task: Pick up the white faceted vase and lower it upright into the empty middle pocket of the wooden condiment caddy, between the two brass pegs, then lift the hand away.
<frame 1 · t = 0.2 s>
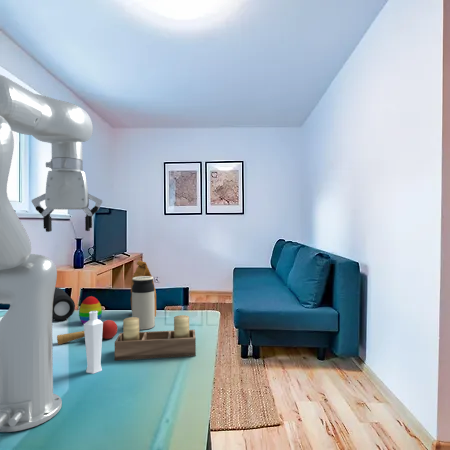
hand: (68, 231, 91), 36 cm above the table, tool pointing down, fingers open, 9 cm apart
decorative egg: (90, 323, 130), on the table
travel mug: (143, 327, 124), on the table
coffee package: (143, 315, 141), on the table
wooden condiment caddy: (157, 352, 99), on the table
white faceted vase: (94, 371, 87), on the table
kendama: (88, 341, 110), on the table
portable speaker: (57, 315, 142), on the table
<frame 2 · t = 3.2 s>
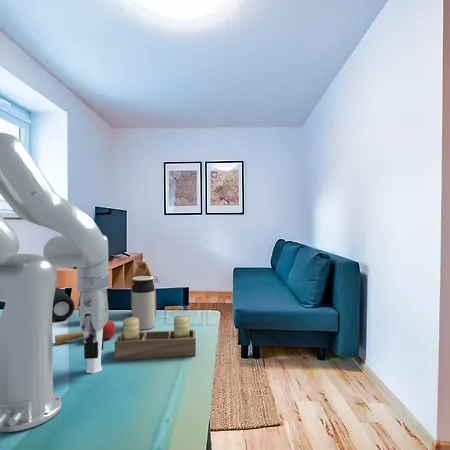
hand: (94, 353, 87), 4 cm above the table, tool pointing down, fingers closed on white faceted vase, 4 cm apart
white faceted vase: (94, 371, 87), on the table, touching gripper
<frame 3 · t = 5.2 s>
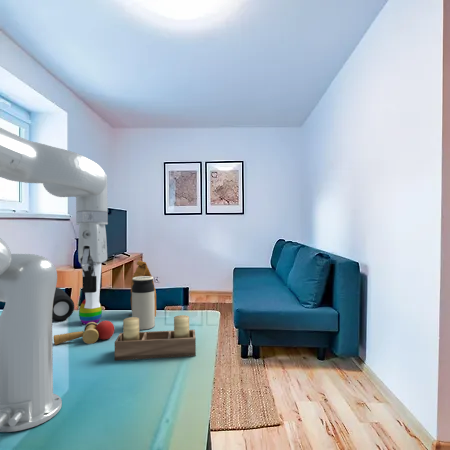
hand: (92, 289, 87), 21 cm above the table, tool pointing down, fingers closed on white faceted vase, 4 cm apart
white faceted vase: (92, 307, 87), point 16 cm above the table, touching gripper
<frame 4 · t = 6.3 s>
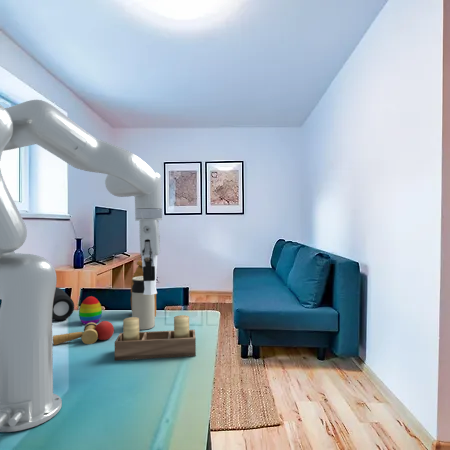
hand: (150, 278, 98), 22 cm above the table, tool pointing down, fingers closed on white faceted vase, 4 cm apart
white faceted vase: (150, 294, 98), point 17 cm above the table, touching gripper
when the fingers open (7 cm above the table, at t = 9.7 s): white faceted vase drops 1 cm, resting on wooden condiment caddy.
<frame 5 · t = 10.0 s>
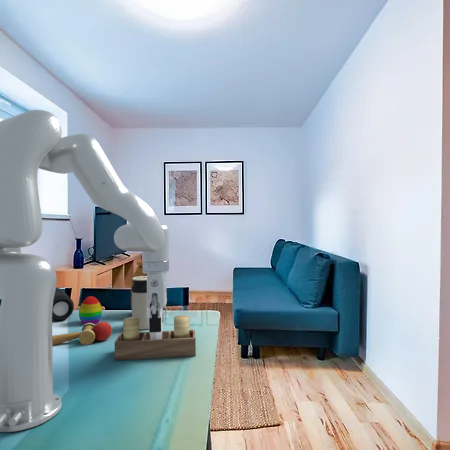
hand: (156, 327, 99), 7 cm above the table, tool pointing down, fingers open, 8 cm apart
white faceted vase: (156, 349, 99), point 1 cm above the table, touching wooden condiment caddy
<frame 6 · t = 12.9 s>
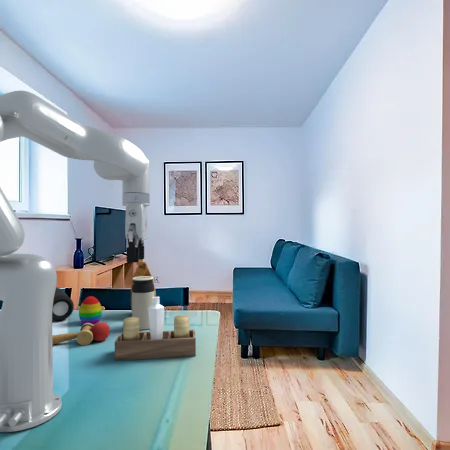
hand: (135, 260, 97), 27 cm above the table, tool pointing down, fingers open, 9 cm apart
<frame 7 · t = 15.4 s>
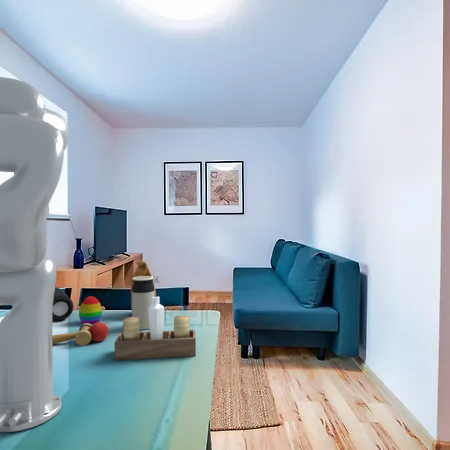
hand: (31, 241, 88), 33 cm above the table, tool pointing down, fingers open, 9 cm apart
at the end: white faceted vase 0.2 cm off-centre on the wooden condiment caddy, point 0.9 cm above the wooden condiment caddy's base; white faceted vase tilted 0°; the gripper is holding nothing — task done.
